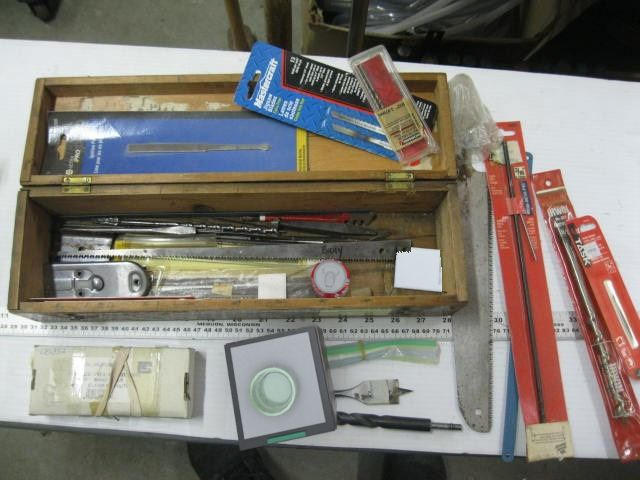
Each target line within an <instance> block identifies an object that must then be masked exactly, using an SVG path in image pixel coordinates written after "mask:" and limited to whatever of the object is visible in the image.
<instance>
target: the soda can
mask: <svg viewBox="0 0 640 480" xmlns="http://www.w3.org/2000/svg"><path fill="white" fill-rule="evenodd" d="M310 284H311V287H312V290H313V291H314V293H315V294H316V296H317V297H318V298H319V297H320V298H319V299H321V298H337V297H342V298H344V297H345V296H346V294H347V293H348V290H349V288H350V284H351V274H350V271H349V269H348V267H347V265H345V264H344V263H343V262H342V261H340V260H338V259H335V258H326V259H323V260H321V261H319V262H318V263H317V264H315V266H314V267H313V269H312V271H311V274H310Z"/></svg>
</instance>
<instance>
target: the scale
mask: <svg viewBox="0 0 640 480" xmlns="http://www.w3.org/2000/svg"><path fill="white" fill-rule="evenodd" d="M311 326H312V327H308V326H307V327H308V328H303V327H302V328H303V329H298V328H297V329H298V330H294V329H292V330H293V331H289V330H287V331H288V332H284V331H283V332H284V333H279V332H278V333H279V334H274V333H273V334H274V335H270V334H268V335H269V336H265V335H263V336H264V337H260V336H259V337H260V338H255V337H254V338H255V339H250V338H249V339H250V340H245V339H244V340H245V341H241V340H239V341H240V342H236V341H235V342H236V343H231V342H230V343H231V344H226V343H225V344H223V349H224V355H225V361H226V368H227V374H228V381H229V382H228V383H229V388H230V395H231V402H232V407H233V415H234V422H235V428H236V434H237V440H238V447H239V451H241V452H242V451H246V450H252V449H255V448H261V447H265V446H270V445H275V444H279V443H283V442H284V443H285V442H288V441H294V440H299V439H303V438H307V437H312V436H317V435H322V434H328V433H331V432H335V431H336V429H335V423H334V418H333V413H332V408H331V403H330V398H329V393H328V388H327V383H326V378H325V373H324V368H323V362H322V357H321V352H320V347H319V342H318V337H317V332H316V327H315V326H313V325H311ZM275 365H280V366H285V367H287V368H288V369H290V370H291V371H292V372H293V373H294V375H295V376H296V378H297V380H298V385H299V390H298V395H297V398H296V399H295V401H294V403H293V404H292V406H291V407H290V409H289V410H287V411H286V412H285V413H283V414H282V415H279V416H274V417H270V416H265V415H262V414H261V413H259V412H258V411H257V410H255V408H254V407H253V405H252V403H251V402H250V397H249V388H250V383H251V381H252V380H253V378H254V377H255V375H256V374H257V373H259V372H260V371H261V370H263V369H265V368H267V367H270V366H275Z"/></svg>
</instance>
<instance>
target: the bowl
mask: <svg viewBox="0 0 640 480" xmlns="http://www.w3.org/2000/svg"><path fill="white" fill-rule="evenodd" d="M298 390H299V385H298V380H297V378H296V376H295V375H294V373H293V372H292V371H291V370H290V369H288V368H287V367H285V366H280V365H275V366H270V367H267V368H265V369H263V370H261V371H260V372H259V373H257V374H256V375H255V377H254V378H253V380H252V381H251V383H250V388H249V397H250V402H251V403H252V405H253V407H254V408H255V410H257V411H258V412H259V413H261V414H262V415H265V416H270V417H274V416H279V415H282V414H283V413H285V412H286V411H287V410H289V409H290V407H291V406H292V404H293V403H294V401H295V399H296V398H297V395H298Z"/></svg>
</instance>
